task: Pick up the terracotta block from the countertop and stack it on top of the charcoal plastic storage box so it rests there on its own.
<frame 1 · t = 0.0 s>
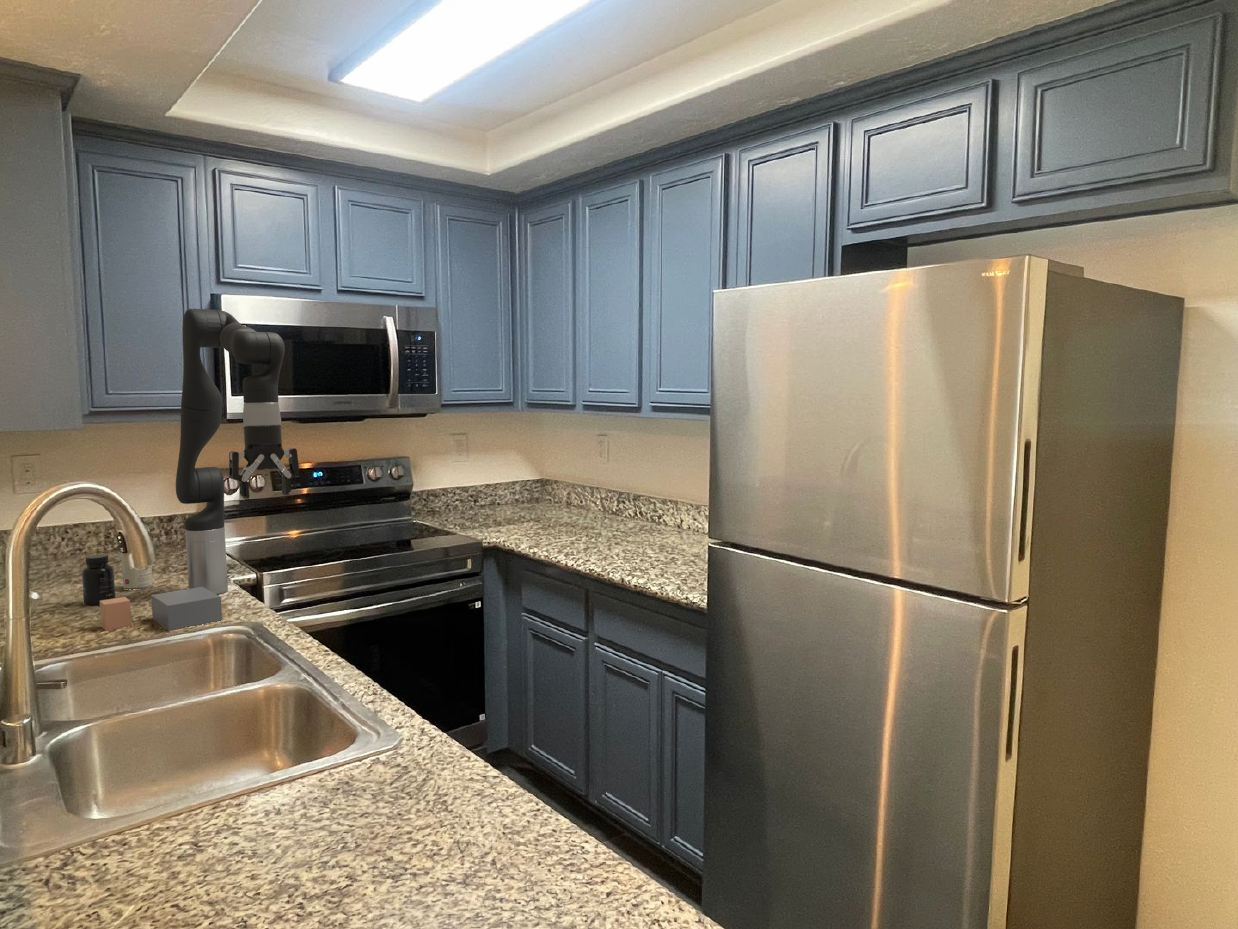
hand: (266, 496, 177), 29 cm above the countertop, tool pointing down, fingers open, 8 cm apart
supplement bottle: (100, 603, 202), on the countertop
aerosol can: (138, 588, 218), on the countertop
terracotta block: (116, 626, 181), on the countertop
charcoal storage box: (187, 621, 185), on the countertop
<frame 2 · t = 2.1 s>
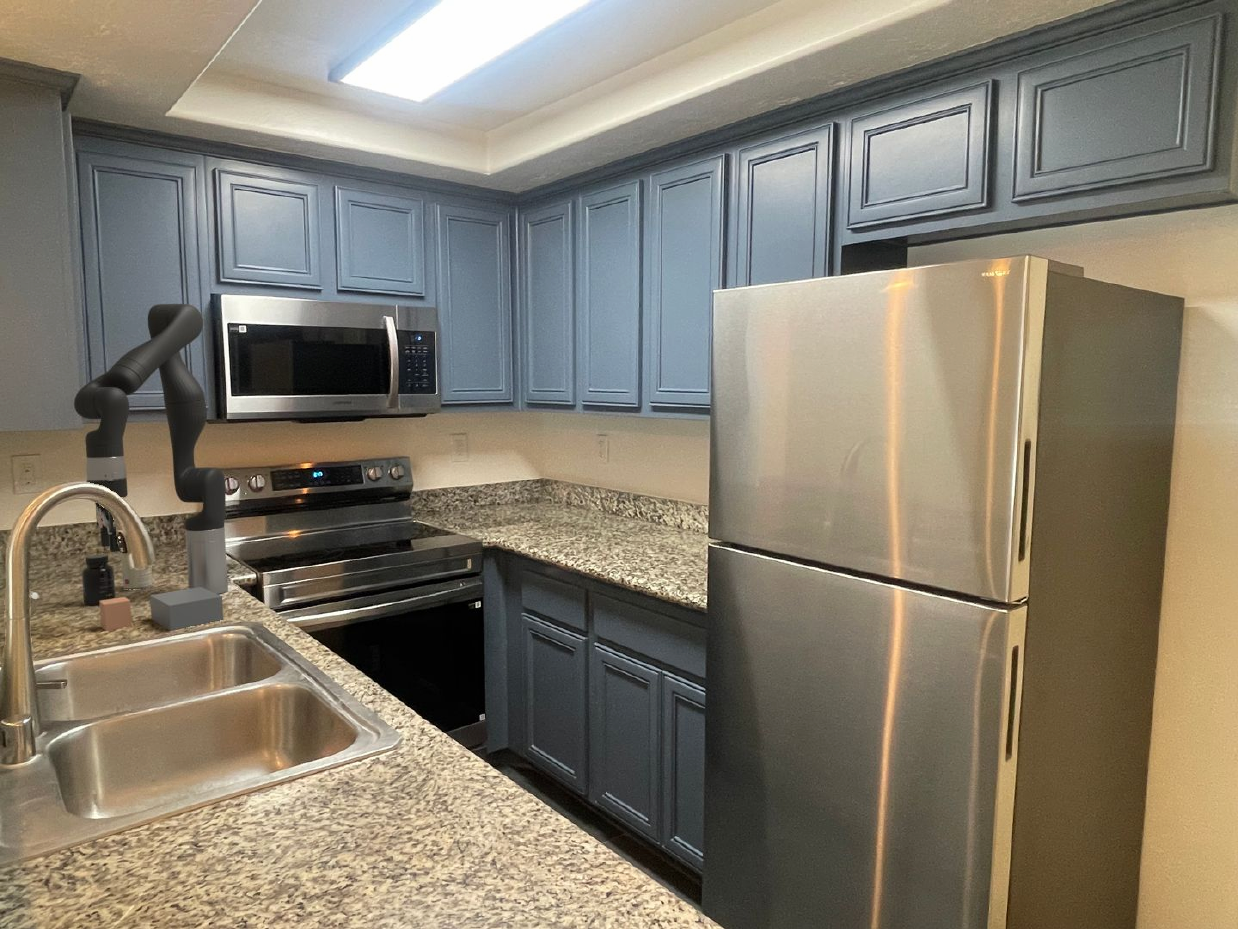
hand: (111, 548, 179), 18 cm above the countertop, tool pointing down, fingers open, 8 cm apart
nothing on the countertop moved.
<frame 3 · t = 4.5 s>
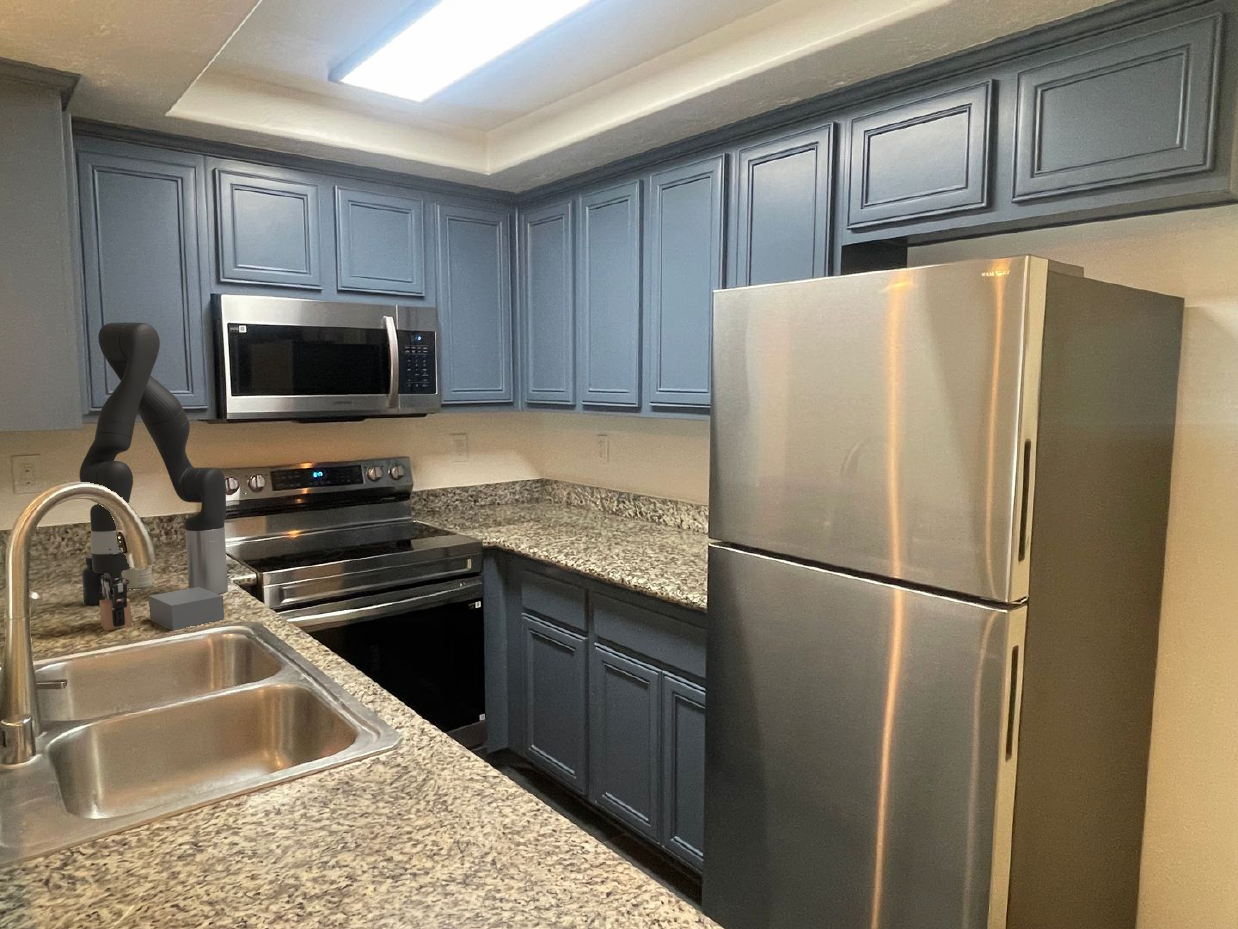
hand: (116, 623, 181), 1 cm above the countertop, tool pointing down, fingers closed on terracotta block, 5 cm apart
terracotta block: (116, 626, 181), on the countertop, touching gripper
everything else where it was.
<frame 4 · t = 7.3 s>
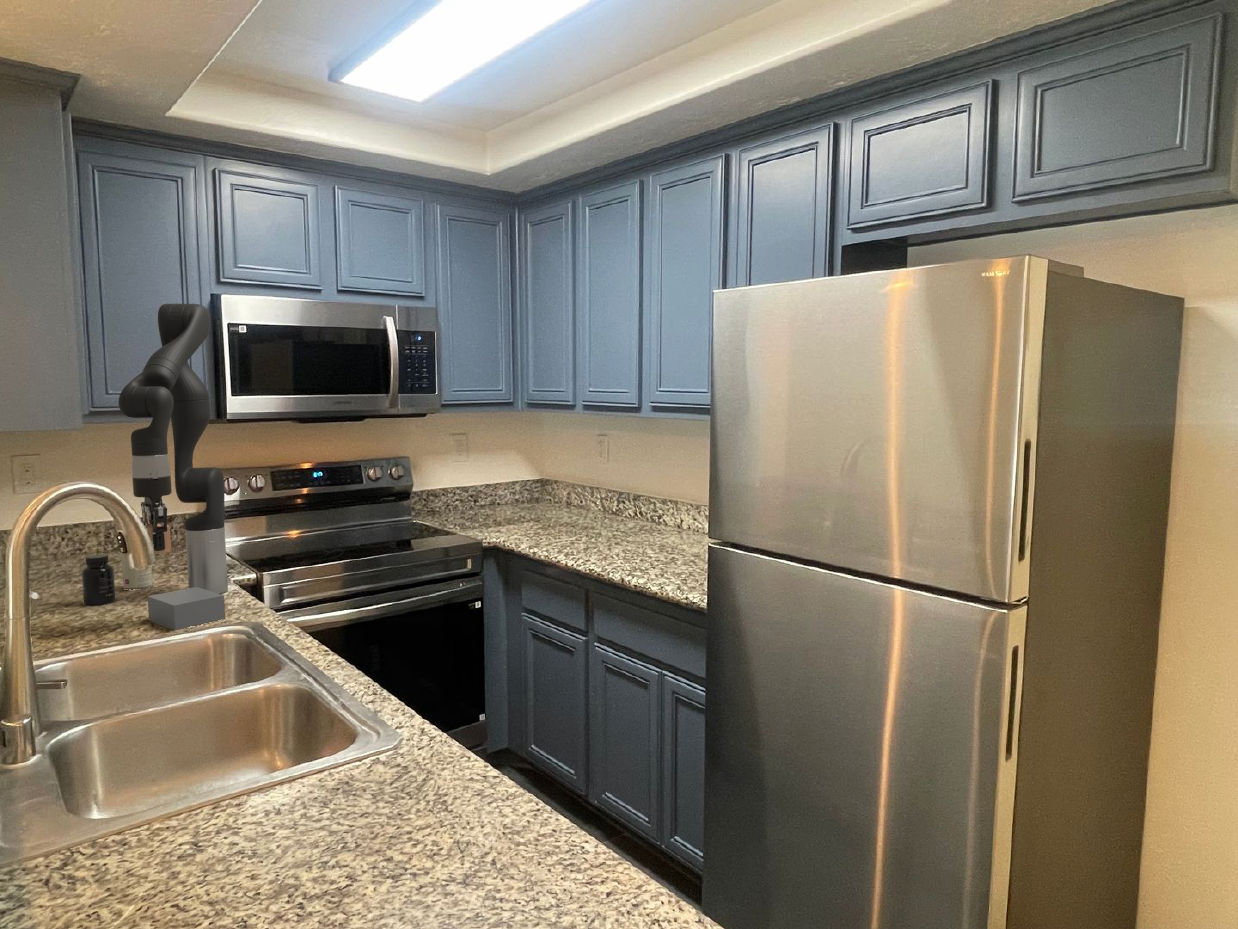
hand: (156, 548, 182), 17 cm above the countertop, tool pointing down, fingers closed on terracotta block, 5 cm apart
terracotta block: (156, 551, 183), point 16 cm above the countertop, touching gripper
everything else where it was.
when the fingers open (8 cm above the countertop, at t = 9.9 s): terracotta block drops 2 cm, point 6 cm above the countertop.
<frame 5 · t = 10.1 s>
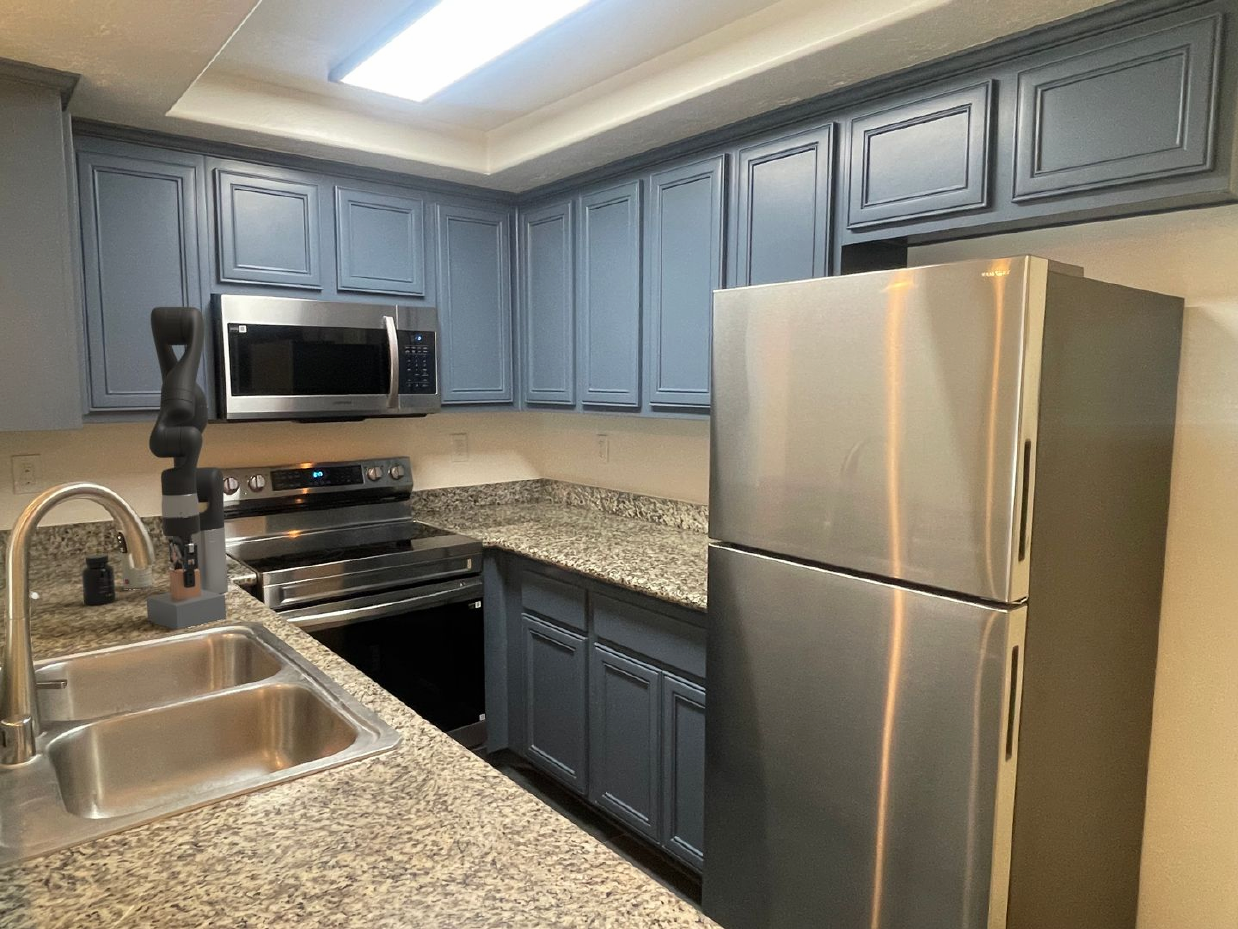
hand: (185, 584, 185), 8 cm above the countertop, tool pointing down, fingers open, 6 cm apart
terracotta block: (186, 596, 185), point 6 cm above the countertop
everything else where it was.
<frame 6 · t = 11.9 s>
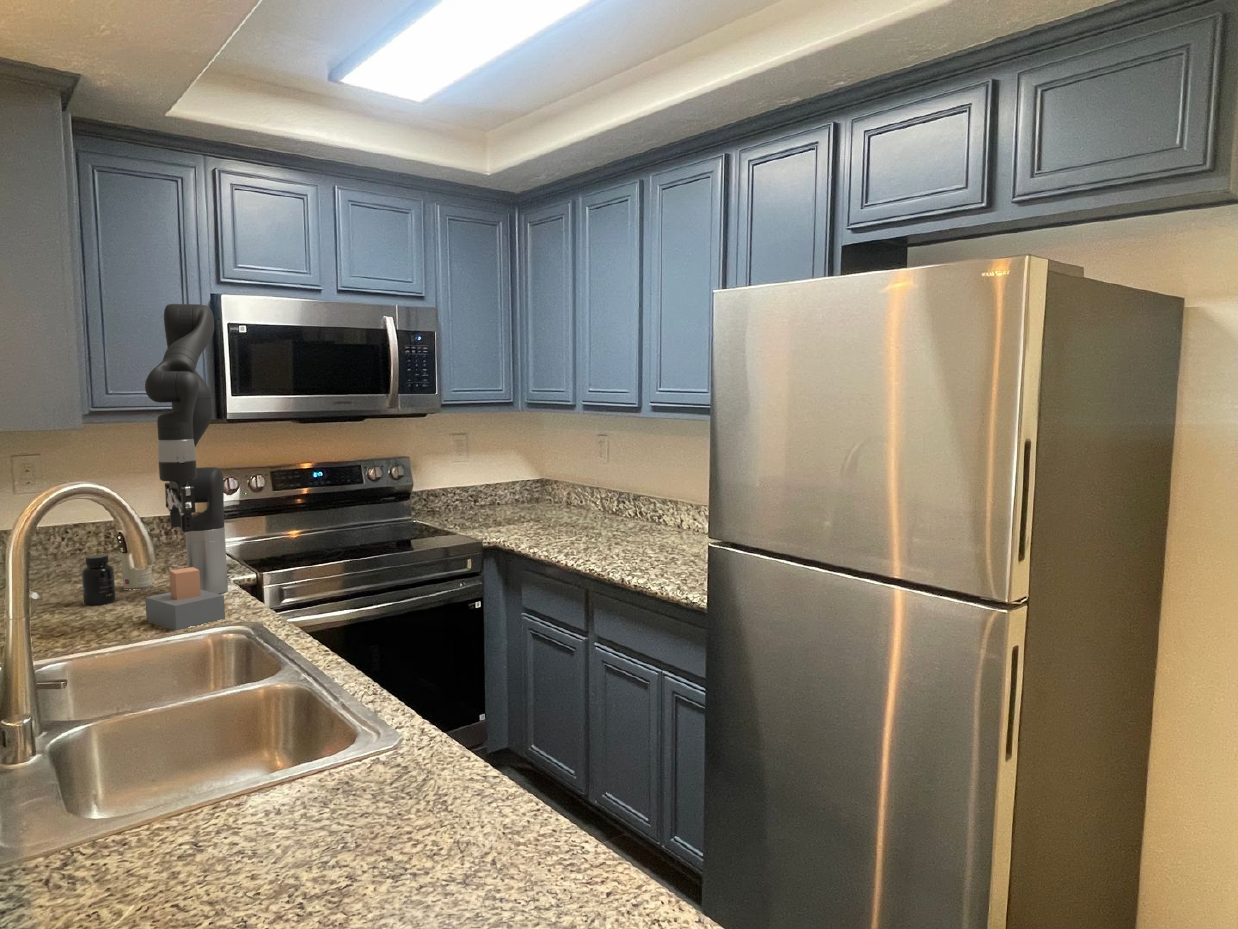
hand: (181, 529, 184), 21 cm above the countertop, tool pointing down, fingers open, 8 cm apart
nothing on the countertop moved.
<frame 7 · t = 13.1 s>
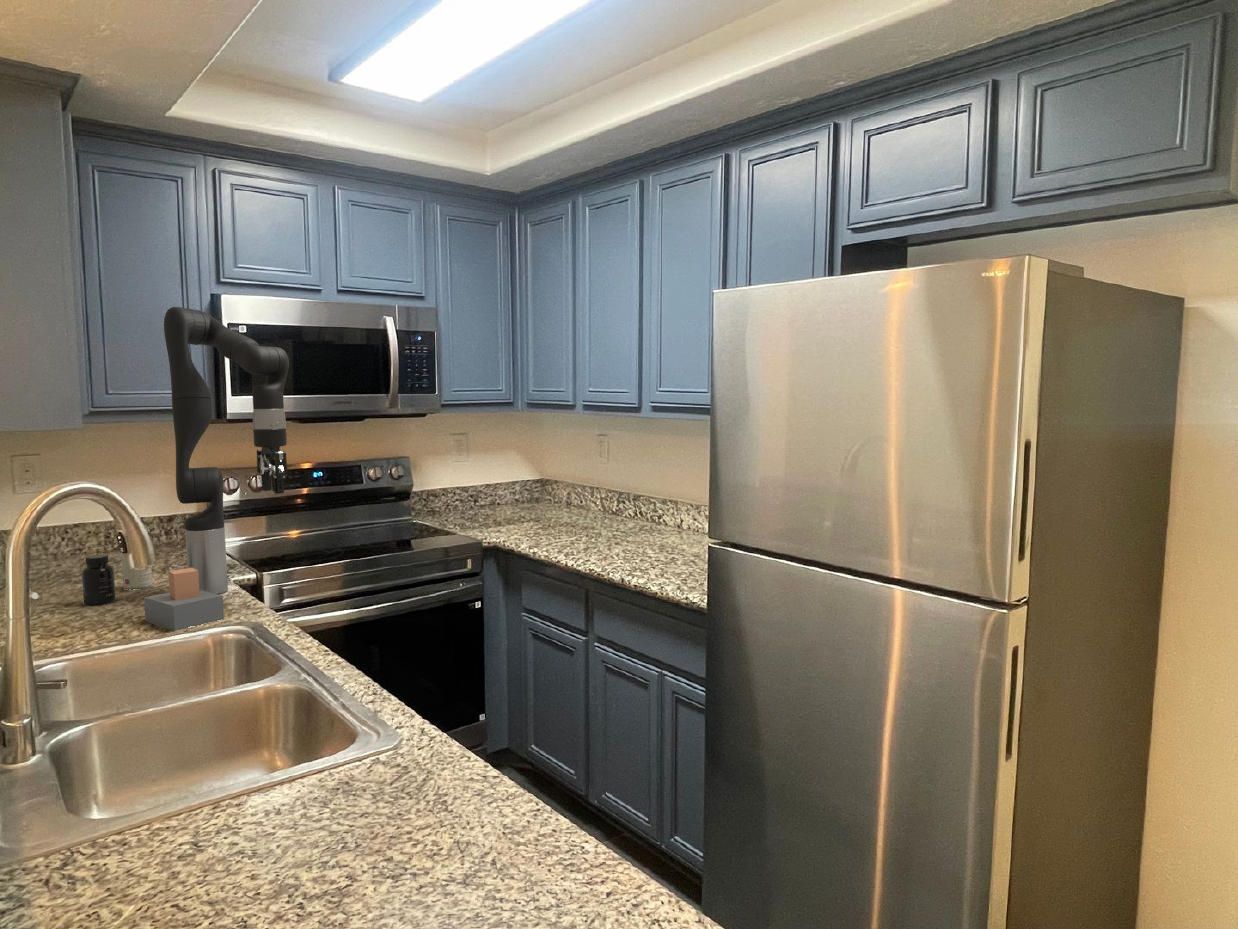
hand: (273, 492, 200), 28 cm above the countertop, tool pointing down, fingers open, 8 cm apart
terracotta block: (184, 596, 185), point 6 cm above the countertop, touching charcoal storage box
charcoal storage box: (184, 622, 185), on the countertop, touching terracotta block
everything else where it was.
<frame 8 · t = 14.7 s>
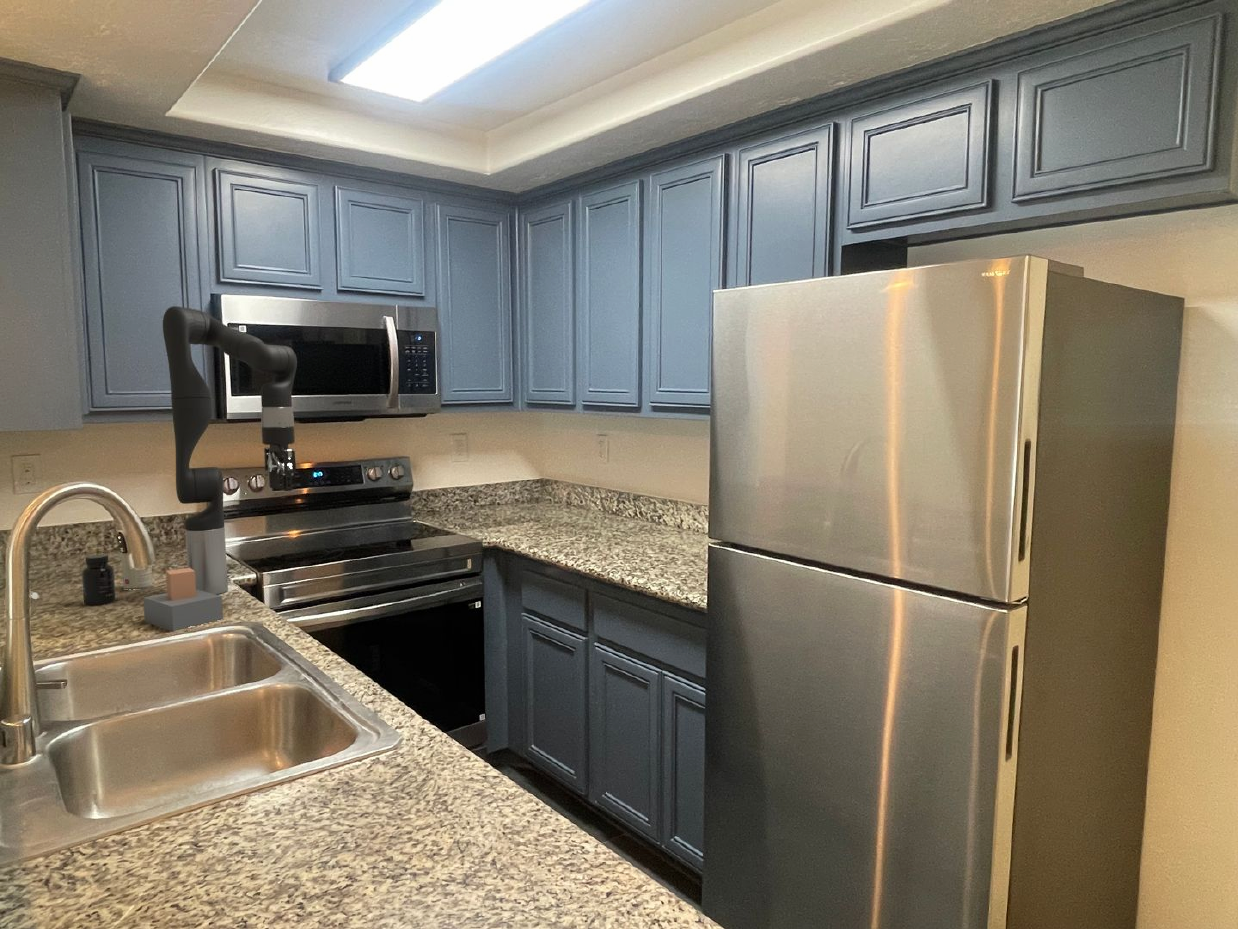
hand: (281, 489, 202), 28 cm above the countertop, tool pointing down, fingers open, 8 cm apart
nothing on the countertop moved.
at the end: terracotta block inside the target area on the charcoal storage box (0.4 cm from its centre), point 6.0 cm above the charcoal storage box's base; the gripper is holding nothing; terracotta block tilted 0° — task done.
